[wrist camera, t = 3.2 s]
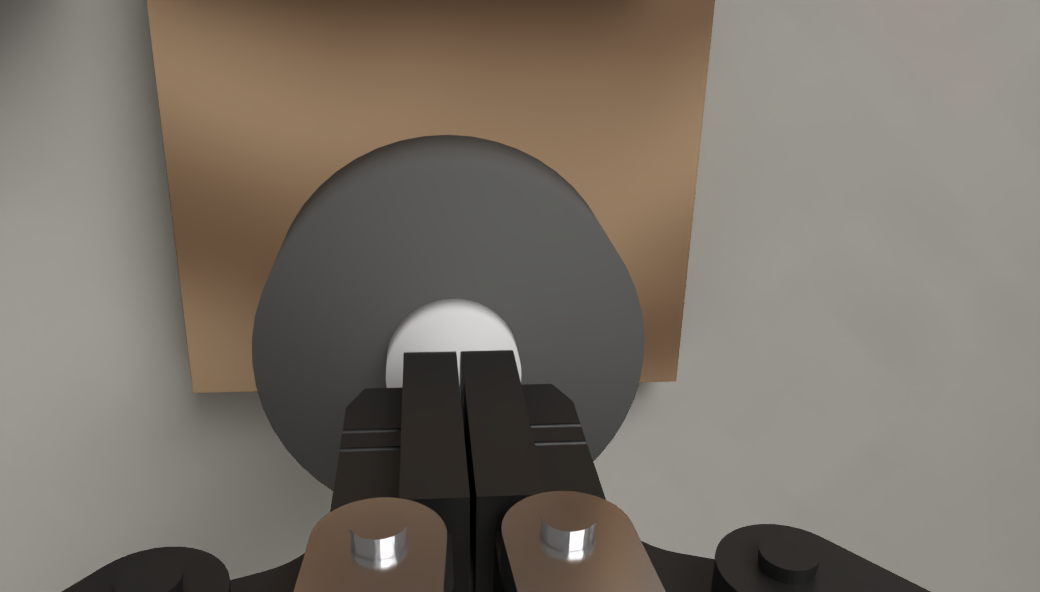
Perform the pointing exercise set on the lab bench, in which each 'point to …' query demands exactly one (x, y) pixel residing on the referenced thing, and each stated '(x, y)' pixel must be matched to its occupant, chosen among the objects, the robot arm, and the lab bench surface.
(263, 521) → the lab bench surface
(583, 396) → the wheel
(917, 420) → the lab bench surface
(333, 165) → the wooden base board
